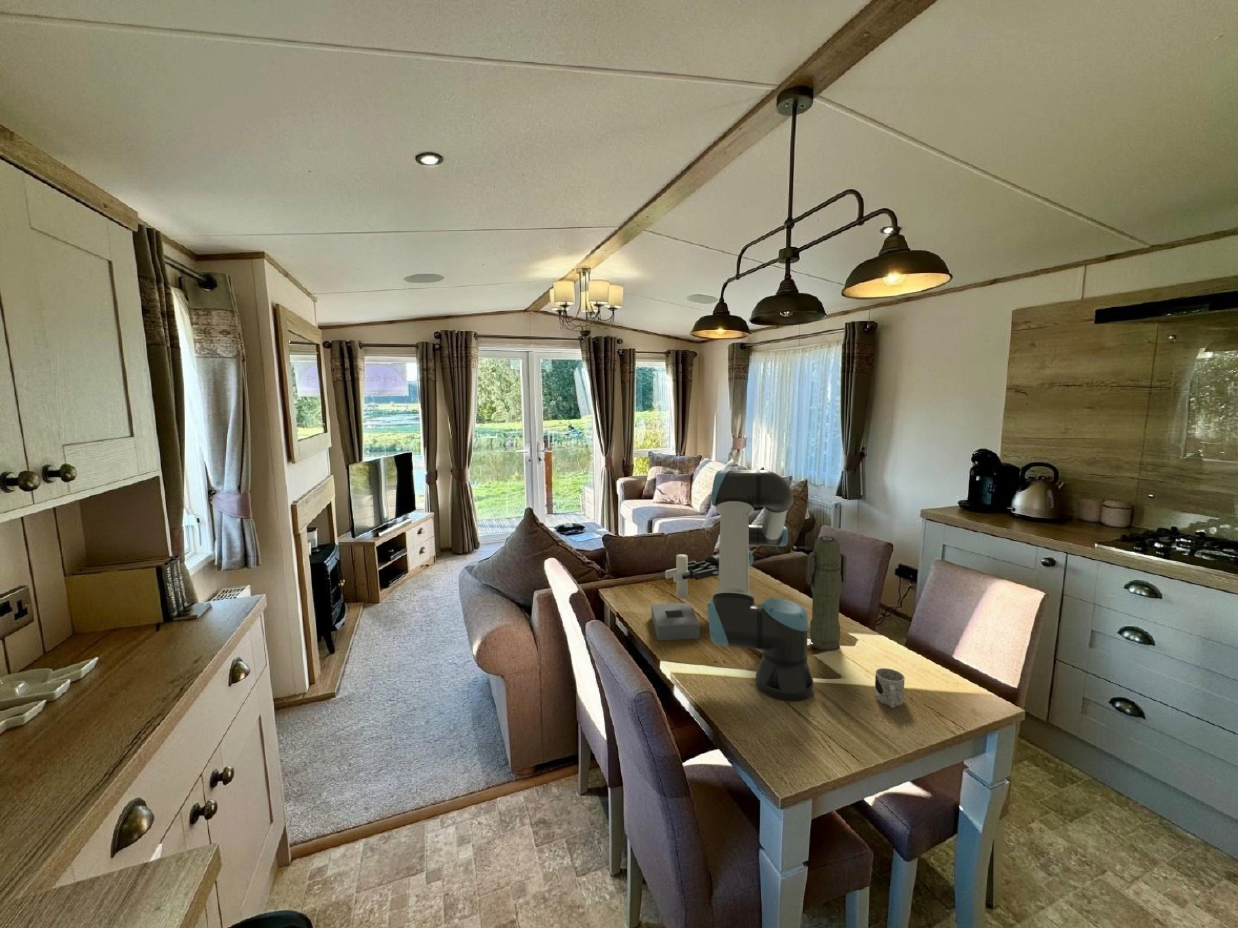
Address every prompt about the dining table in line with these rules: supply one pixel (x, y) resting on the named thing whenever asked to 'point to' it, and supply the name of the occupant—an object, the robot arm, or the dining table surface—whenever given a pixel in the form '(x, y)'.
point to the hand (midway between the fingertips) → (670, 576)
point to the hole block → (675, 621)
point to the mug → (889, 687)
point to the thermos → (826, 592)
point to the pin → (680, 567)
